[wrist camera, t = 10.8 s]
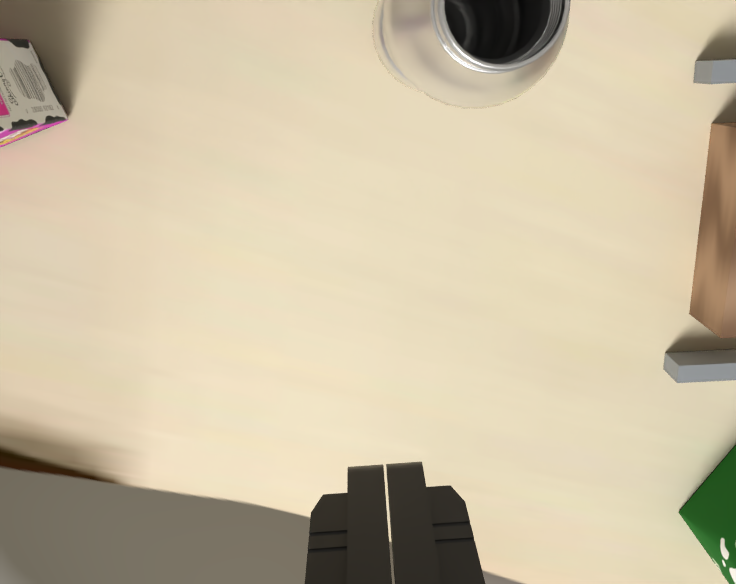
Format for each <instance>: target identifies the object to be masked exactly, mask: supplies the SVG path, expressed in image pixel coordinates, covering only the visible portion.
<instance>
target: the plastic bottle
mask: <svg viewBox="0 0 736 584" xmlns="http://www.w3.org/2000/svg"><path fill="white" fill-rule="evenodd" d="M569 11H570V0H378V3H377V6H376V8H375V12H374V17H373V40H374V44H375V49H376V51H377V54H378V56H379V58H380V61H381V62H382V64H383V65H384V67H385V68H386V70H387V71H388V72H389V73H390V74H391V75H392V76H393V77H394V78H395V79H396V80H397V81H399V82H400V83H402V84H403V85H405V86H406V87H408V88H411V89H413V90H415V91H418V92H423V93H424V94H426V95H427V96H429V97H430V98H432V99H435V100H437V101H439V102H442V103H444V104H446V105H450V106H455V107H460V108H487V107H492V106H497V105H501V104H503V103H506V102H508V101H511V100H513V99H516V98H517V97H519V96H520V95H522V94H523V93H525V92H526V91H528V90H530V89H531V88H532V87H533V86H534V85H535V84H536V83H537V82H538V81H539V80H541V79H542V78H543V77H544V76H545V74H546V73H547V71H548V70H549V69H550V67H551V66H552V64H553V63H554V62H555V60H556V58H557V56H558V54H559V52H560V49H561V47H562V45H563V42H564V39H565V35H566V31H567V27H568V22H569Z"/></svg>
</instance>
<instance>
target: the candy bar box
mask: <svg viewBox="0 0 736 584" xmlns="http://www.w3.org/2000/svg"><path fill="white" fill-rule="evenodd" d="M67 120H68V116H67V114H66V112H65V110H64V108H63V106H62V104H61V102H60V100H59V98H58V96H57V94H56V93H55V91H54V89H53V87H52V85H51V83H50V81H49V78H48V76H47V74H46V72H45V70H44V68H43V65H42V63H41V61H40V59H39V57H38V55H37V53H36V52H35V50H34V48H33V46H32V44H31V42H30V41H29V40H19V39H4V38H0V147H2V146H5V145H7V144H10V143H12V142H14V141H17V140H20V139H22V138H25V137H27V136H29V135H32V134H34V133H37V132H39V131H42V130H44V129H47V128H49V127H52V126H54V125H57V124H59V123H62V122H64V121H67Z"/></svg>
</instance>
